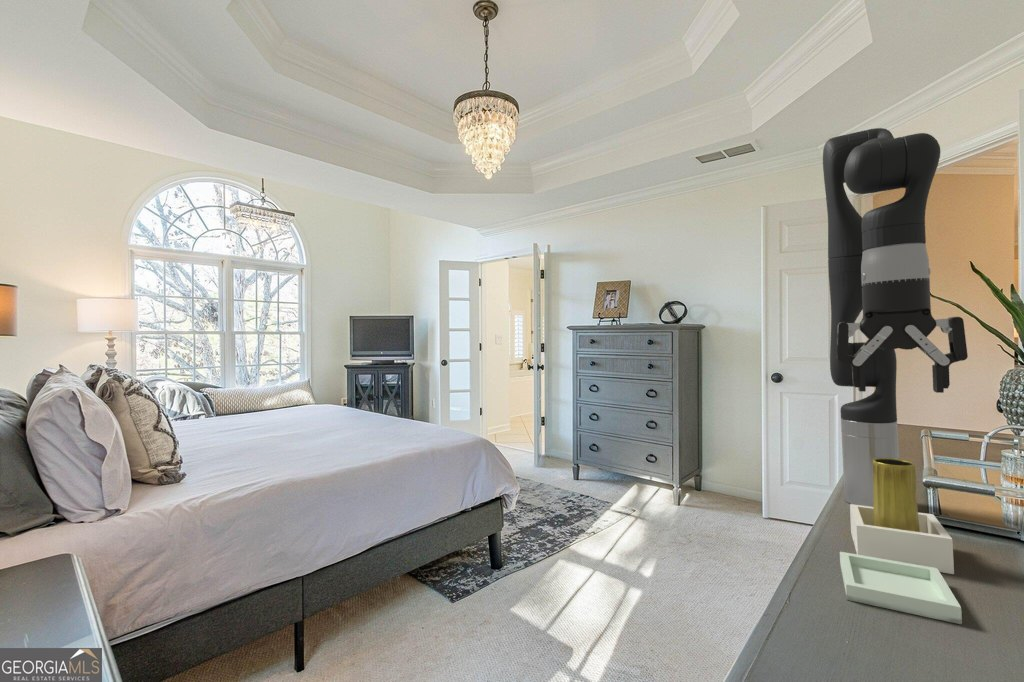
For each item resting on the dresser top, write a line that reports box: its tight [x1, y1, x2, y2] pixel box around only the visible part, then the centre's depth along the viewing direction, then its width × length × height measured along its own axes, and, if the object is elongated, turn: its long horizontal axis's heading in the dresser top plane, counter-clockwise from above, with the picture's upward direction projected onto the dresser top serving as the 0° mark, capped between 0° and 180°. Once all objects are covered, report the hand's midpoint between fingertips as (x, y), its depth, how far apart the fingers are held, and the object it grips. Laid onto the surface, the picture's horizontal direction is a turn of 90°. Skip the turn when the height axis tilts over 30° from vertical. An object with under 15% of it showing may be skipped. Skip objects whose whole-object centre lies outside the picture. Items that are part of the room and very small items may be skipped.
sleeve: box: [849, 503, 955, 575], centre depth 73 cm, size 11×11×5 cm
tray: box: [839, 551, 963, 625], centre depth 61 cm, size 11×11×2 cm
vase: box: [873, 458, 920, 532], centre depth 73 cm, size 6×6×14 cm
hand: (898, 391), depth 66 cm, fingers open, 8 cm apart
